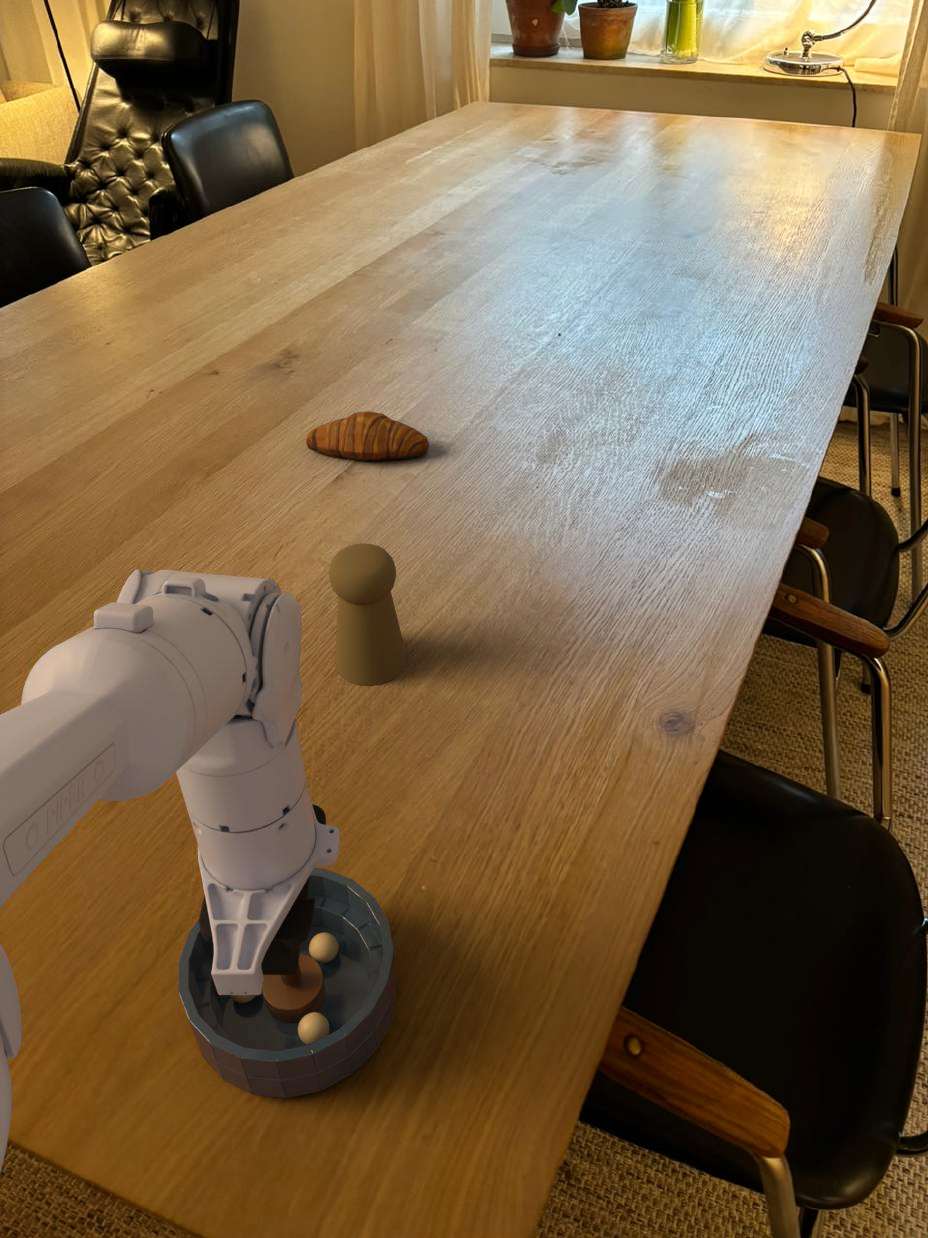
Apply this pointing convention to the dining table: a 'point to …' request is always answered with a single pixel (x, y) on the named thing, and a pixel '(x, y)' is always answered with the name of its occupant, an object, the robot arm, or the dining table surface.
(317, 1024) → the chickpea
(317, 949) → the chickpea
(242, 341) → the dining table surface
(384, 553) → the brown game pawn
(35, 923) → the dining table surface
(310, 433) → the croissant
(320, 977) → the wooden pestle
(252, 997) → the chickpea
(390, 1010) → the bowl
